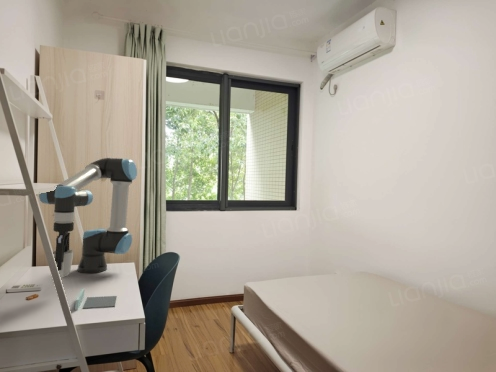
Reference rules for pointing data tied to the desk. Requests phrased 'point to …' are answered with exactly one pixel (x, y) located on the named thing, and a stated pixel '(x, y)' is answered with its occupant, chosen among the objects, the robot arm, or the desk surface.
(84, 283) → the desk surface
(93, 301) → the mat
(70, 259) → the cup
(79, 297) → the wall
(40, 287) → the desk surface
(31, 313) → the desk surface
